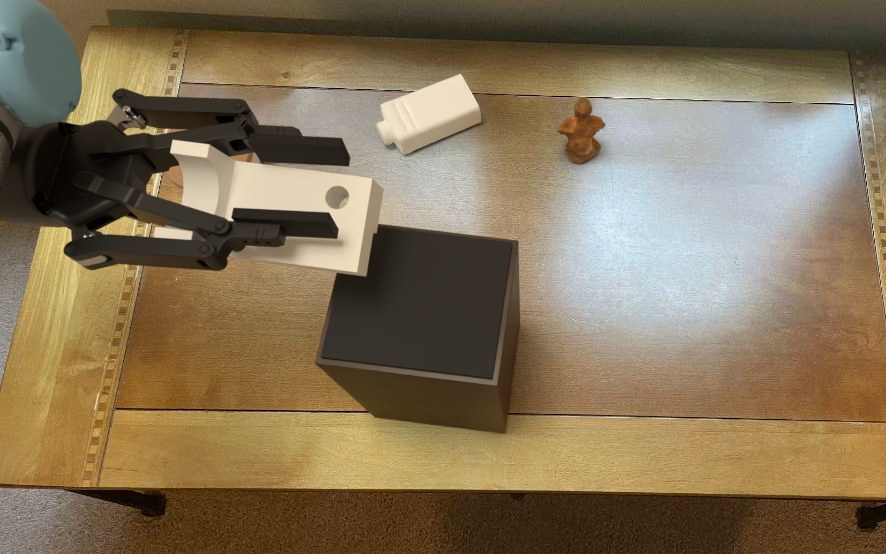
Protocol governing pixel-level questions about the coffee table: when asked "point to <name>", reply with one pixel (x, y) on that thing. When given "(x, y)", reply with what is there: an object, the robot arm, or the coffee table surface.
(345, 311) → the black pad
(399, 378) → the walnut stand
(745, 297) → the coffee table surface
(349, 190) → the bracket
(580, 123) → the figurine
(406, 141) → the white bottle
